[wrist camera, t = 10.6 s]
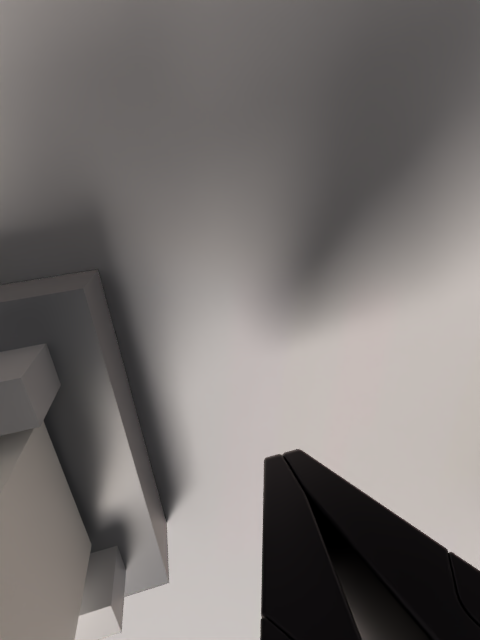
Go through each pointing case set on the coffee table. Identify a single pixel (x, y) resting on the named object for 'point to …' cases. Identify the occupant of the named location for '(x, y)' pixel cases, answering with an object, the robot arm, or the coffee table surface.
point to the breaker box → (85, 433)
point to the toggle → (38, 542)
